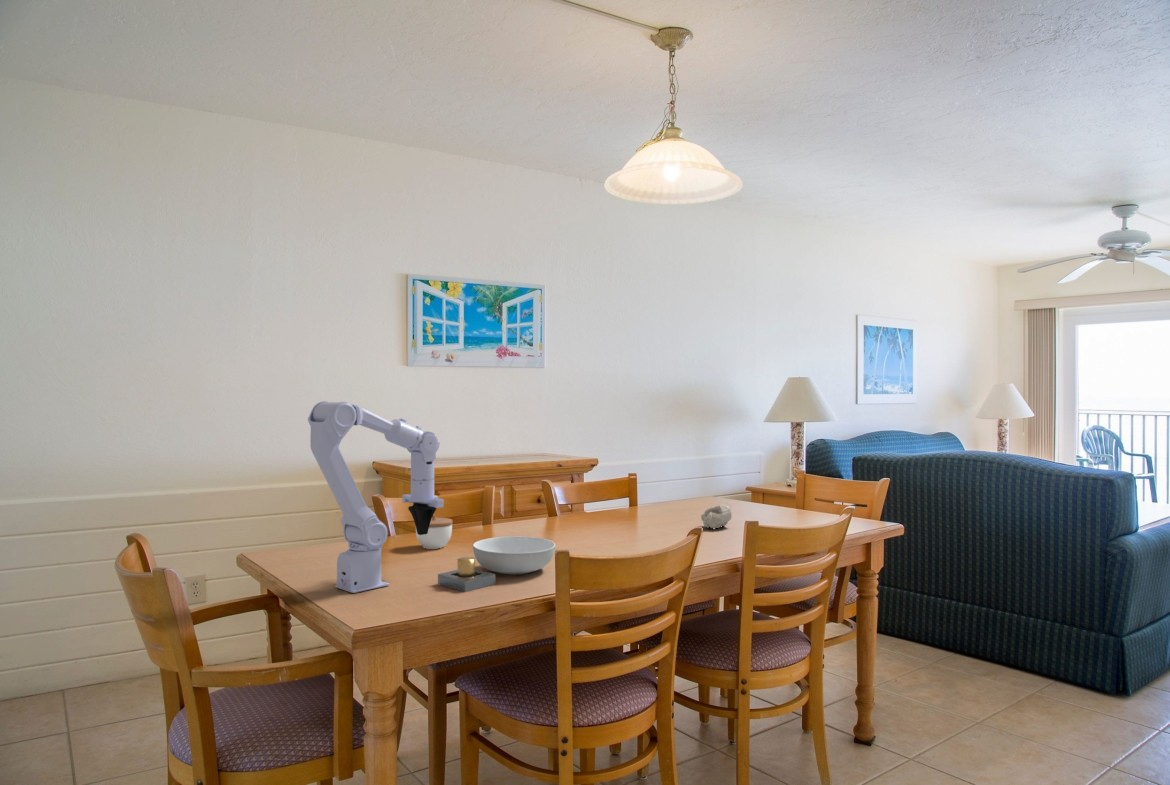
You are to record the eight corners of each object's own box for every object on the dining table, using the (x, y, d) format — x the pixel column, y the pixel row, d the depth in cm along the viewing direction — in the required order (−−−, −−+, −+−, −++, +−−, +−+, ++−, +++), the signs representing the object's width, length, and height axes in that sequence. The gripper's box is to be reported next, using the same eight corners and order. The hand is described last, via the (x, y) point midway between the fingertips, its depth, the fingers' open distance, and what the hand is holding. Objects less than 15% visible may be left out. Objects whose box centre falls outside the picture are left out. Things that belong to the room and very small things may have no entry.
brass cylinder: (465, 587, 173) (464, 561, 173) (454, 584, 175) (453, 559, 175) (478, 584, 176) (478, 558, 176) (467, 581, 178) (467, 556, 178)
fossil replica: (699, 531, 246) (730, 534, 244) (701, 506, 245) (732, 509, 244) (700, 521, 258) (730, 525, 256) (702, 498, 257) (732, 501, 255)
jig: (465, 591, 169) (465, 581, 169) (438, 584, 176) (438, 574, 176) (495, 584, 176) (495, 574, 176) (468, 577, 182) (468, 567, 182)
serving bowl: (496, 585, 175) (496, 556, 175) (459, 568, 192) (459, 541, 193) (571, 573, 186) (571, 546, 186) (530, 558, 204) (530, 533, 204)
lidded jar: (448, 551, 213) (448, 518, 213) (410, 550, 213) (410, 517, 213) (456, 543, 224) (456, 512, 224) (420, 543, 224) (420, 512, 224)
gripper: (453, 480, 184) (453, 535, 184) (418, 475, 193) (418, 528, 193) (430, 482, 178) (430, 539, 178) (395, 478, 188) (395, 532, 188)
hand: (422, 534), depth 186 cm, fingers closed
